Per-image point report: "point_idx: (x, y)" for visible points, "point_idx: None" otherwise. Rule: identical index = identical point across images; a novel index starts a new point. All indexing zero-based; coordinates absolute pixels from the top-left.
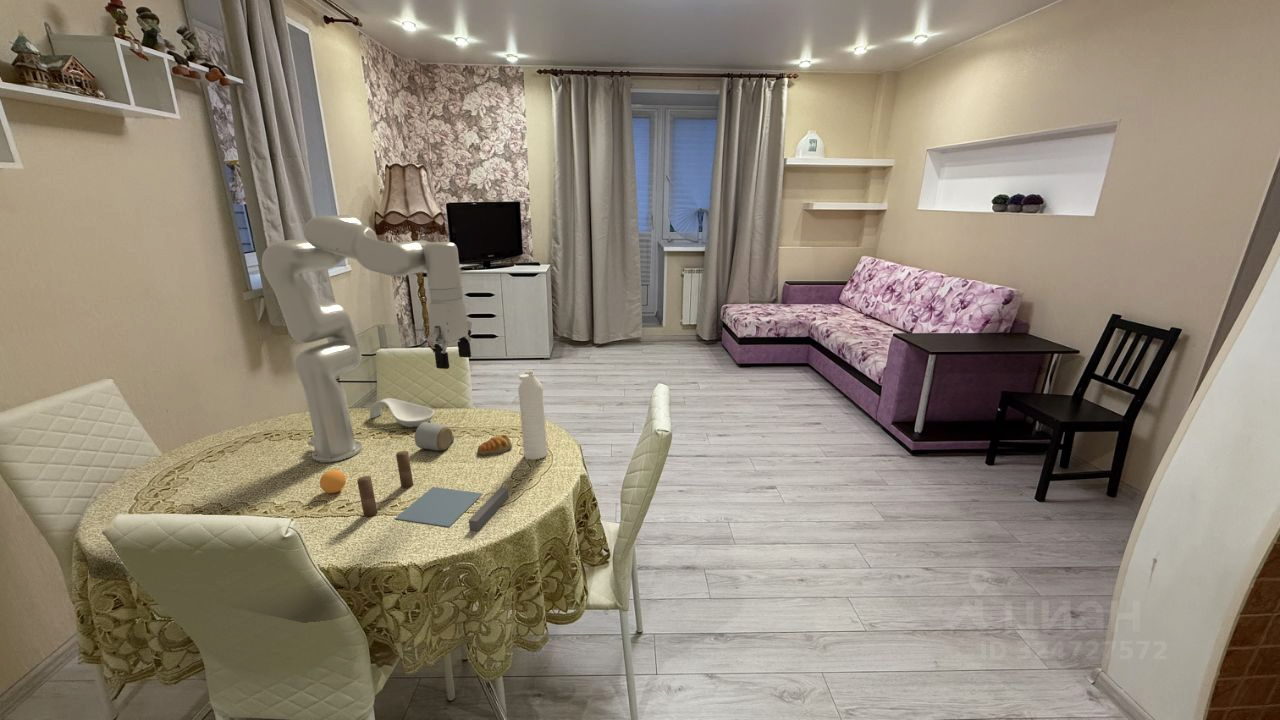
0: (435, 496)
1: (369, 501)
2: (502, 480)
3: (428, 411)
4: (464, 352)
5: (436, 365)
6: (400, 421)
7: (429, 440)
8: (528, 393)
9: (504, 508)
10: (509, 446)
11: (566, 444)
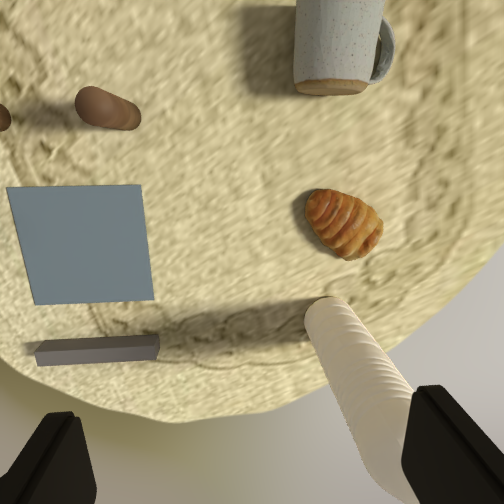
0: (109, 216)
1: None
2: (212, 307)
3: None
4: (430, 476)
5: (36, 430)
6: None
7: (297, 54)
8: (364, 462)
9: None
10: (344, 258)
11: None
